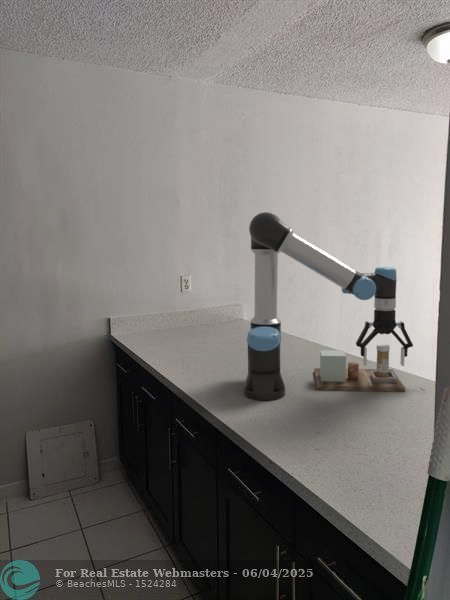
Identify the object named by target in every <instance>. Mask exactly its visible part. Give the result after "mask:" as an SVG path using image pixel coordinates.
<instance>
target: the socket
mask: <svg viewBox="0 0 450 600" xmlns="http://www.w3.org/2000/svg"><path fill="white" fill-rule="evenodd" d="M376 373H377V371H370V377H371V378H372V380H373V382H374V383H397V377H398V376H397V377H396V376H395V374H396V373H395V374H394V373H393V372H392V371H388V377H376Z"/></svg>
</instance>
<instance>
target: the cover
mask: <svg viewBox="0 0 450 600" xmlns="http://www.w3.org/2000/svg"><path fill="white" fill-rule="evenodd" d="M319 368H320V377H321V381H330V382H346V369H347V355H346V352H345V350H331V349H330V350H329V349H328V350H321V349H320V350H319Z"/></svg>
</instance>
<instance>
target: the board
mask: <svg viewBox="0 0 450 600" xmlns="http://www.w3.org/2000/svg"><path fill="white" fill-rule="evenodd" d="M313 370H314V377H315V378H314V379H315V385H316V390H317V391H352V392H353V391H355V392H356V391H358V392H359V391H360V392H364V391H365V392H400V393H401V392H403V393H405V392H406V386H405V385H404V383H403V382H402V381H401V380H400V378H399V376H398V375H397V374H396V372H395V371H394V369H389V371H392V372H393V373H394V374H395V376H396V377H397V383H374V382H373V380H372V378H371V377H370V371H377V370H376V368H360V364H359V362H355V361H349V362H348V363H347V368H346V382H330V381H321V377H320V367H319V368H318V367H317V368H313Z"/></svg>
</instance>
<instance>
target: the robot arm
mask: <svg viewBox="0 0 450 600" xmlns="http://www.w3.org/2000/svg"><path fill="white" fill-rule="evenodd" d="M248 231H249V235H250V250H251V251H252V253H253V254H254V315H253V317H252V318H251V319H250V330H249V331H248V332H247V336H246V343H247V375H246V379H245V382H244V385H243V395H244V396H245V397H246V398H248V399H250V400H251V399H252V400H259V401H273V400H277V399H278V400H279V399H280V398H282V397H284V396H285V395H286V386H285V385H286V384H285V382H284V380H283V376H282V373H281V343H282V334H281V332H282V331H281V329H282V327H281V326H282V323H281V322H282V321H281V319H279V317H278V275H279V272H278V269H279V268H278V267H279V266H278V265H279V264H278V263H279V262H278V260H279V258H278V257H279V253H283V254H285V255H287V256H288V257H289V258H292V259H293V260H295V261H296V262H298V263H300V264H302V265H303V266H305V267H306V268H308V269H310V270H311V271H313V272H314V273H317V274H319V275H320V276H321V277H323V278H325V279H327V280H328V281H330V282H331V283H333V284H334V285H336V286H338V287H340V288H341V292H342V293H343V294H348V295H353V296H354V297H355V298H357V299H358V300H362V301H368V300H370V299H372V298H373V297H374V299H373V300H374V303H373V305H374V309H373V311H374V312H373V322H371V321H370V322H369V321H365V322H364V327H363V329H362V331H361V333H360V334H359V337H358V338H357V340H356V342H355V346H356V347H358V348H360V356H361V357H363V358H362V359H363V360H362V361H363V366H367V359H368V358H367V356H368V354H367V352H368V349H367V346H368V344H369V343H370V342H371V341H372V340H373V339H374V338H375V337H377V335H378V334H379V335H384V334H385V335H390V334H392V336H393V337H395V339H396V340H397V341H398V342H399V343H400V344H401V345H402V346H401V347H400V362H399V363H400V365H401V366H402V367H405V358H407V357H408V349H409V348H413V347H414V345H413V342H412V340H411V338H410V335H409V334H408V332H407V330H406V328H405V327H406V326H405V322H404V321H398V322H396V310H395V309H396V305H397V304H396V303H397V300H396V299H397V298H396V297H397V295H396V294H397V280H398V279H397V269H396V268H395V267H393V266H391V267H390V266H382V267H381V266H379V267H378V266H377V267H375V269H374V272H369V273H368V272H367V273H363V272H359V271H357V270H356V269H354V268H353V267H351V266H349V265H348V264H346V263H344V261H343V262H342V261H341V260H339V259H337V258H336V257H334V256H333V255H331V254H329V253H328V252H326V251H324V250H323V249H320V248H319V247H317V245H314V244H312V243H311V242H309V241H308V240H306V239H304V238H302V237H301V236H299V235H297V234H295V232H294V230H293V228H292V227H290V226H288V225H286V224H285V223H284V222H283V221H282V220H281V219H280V217H279V216H277V215H276V214H273V213H272V212H259V213H258V214H256V215H255V216H253V218H252V219H251V221H250V222H249V228H248ZM371 327H373V328H374V329H373V330H372V332H370V333H369V334H368V336H367V337H366V335H367V333H368V332H369V329H371ZM396 327H398V328H399V329H400V331H401V333H402V335H403V337H404V338H405V341H406V343H405V341H404V340H403V339H402V338H401V337H400V335H399V334H398V333H397V332H396V331H395V329H396ZM365 337H366V338H365ZM364 338H365V339H364Z"/></svg>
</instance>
